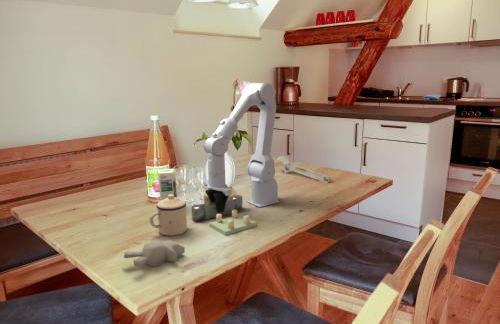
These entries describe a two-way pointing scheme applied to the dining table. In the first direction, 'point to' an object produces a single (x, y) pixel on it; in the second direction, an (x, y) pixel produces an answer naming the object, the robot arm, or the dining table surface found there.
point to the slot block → (206, 198)
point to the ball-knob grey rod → (215, 208)
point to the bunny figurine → (157, 253)
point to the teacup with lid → (171, 216)
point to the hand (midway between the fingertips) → (218, 210)
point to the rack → (232, 223)
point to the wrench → (300, 170)
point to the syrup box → (167, 183)
